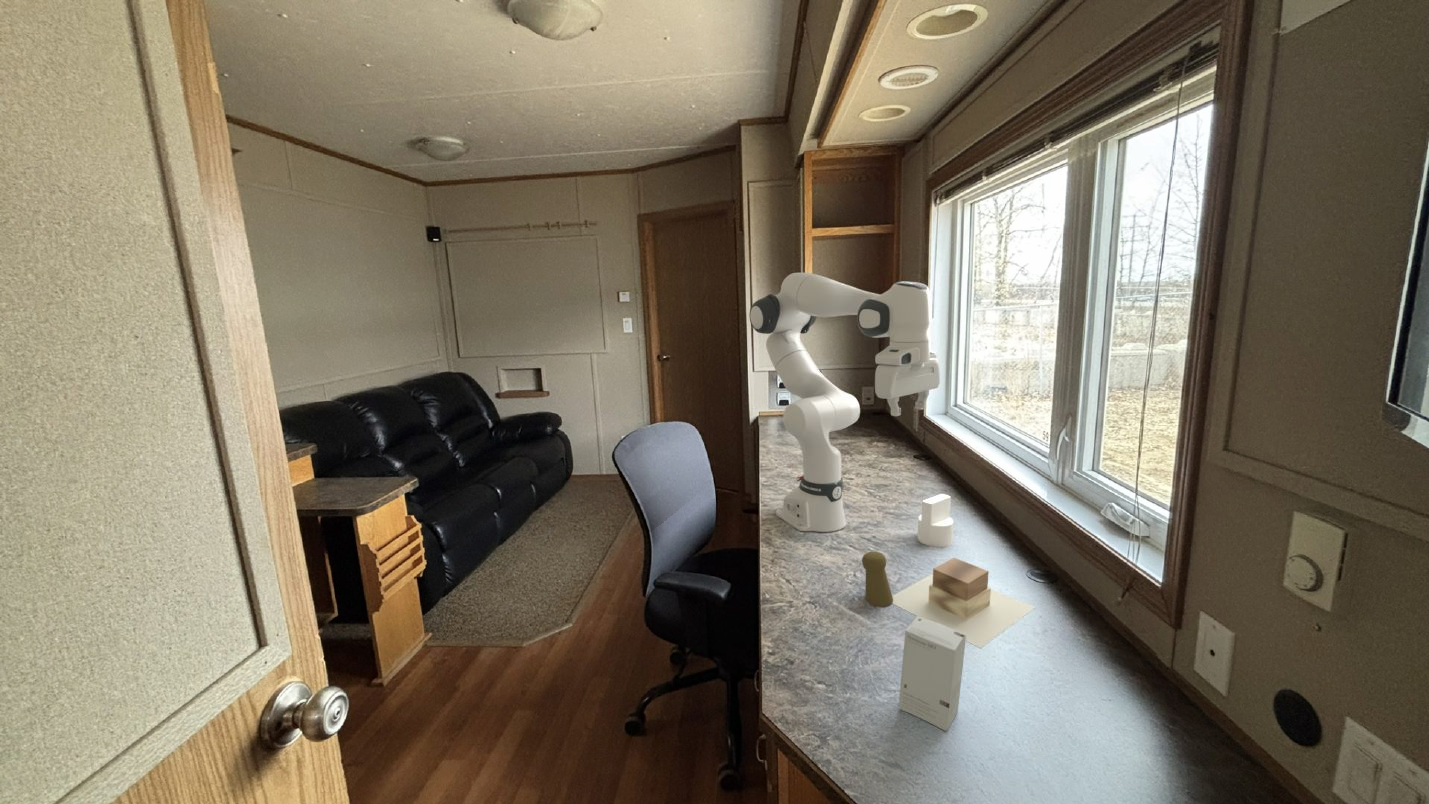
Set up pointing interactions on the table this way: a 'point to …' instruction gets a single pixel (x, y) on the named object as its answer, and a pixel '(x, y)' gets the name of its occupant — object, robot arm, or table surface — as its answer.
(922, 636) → the skincare box
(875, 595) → the olive rounded upright piece
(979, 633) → the felt mat
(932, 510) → the cylinder with rectangular tab
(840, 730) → the table surface
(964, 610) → the bottom block
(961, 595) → the top block
